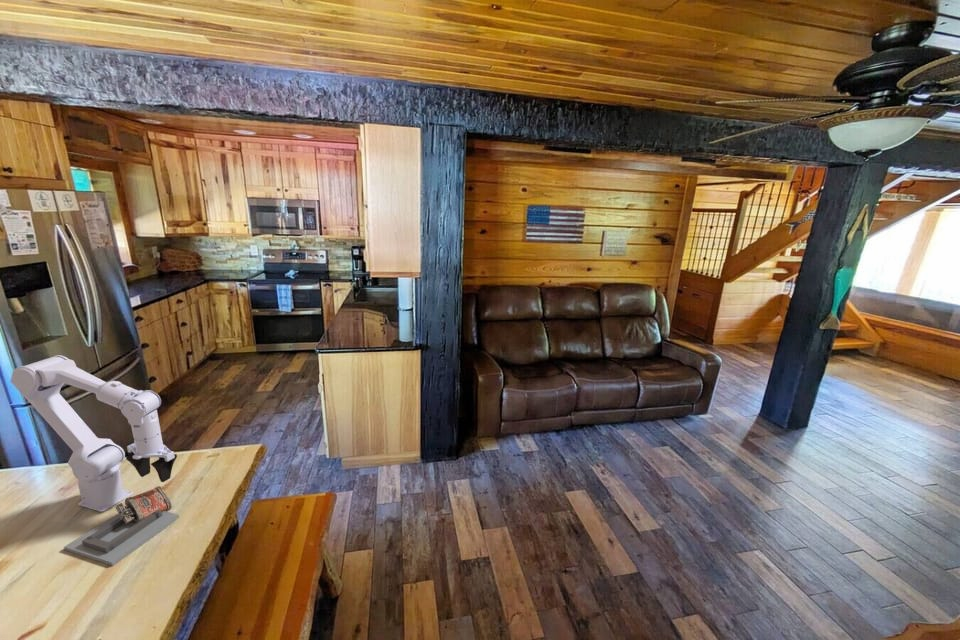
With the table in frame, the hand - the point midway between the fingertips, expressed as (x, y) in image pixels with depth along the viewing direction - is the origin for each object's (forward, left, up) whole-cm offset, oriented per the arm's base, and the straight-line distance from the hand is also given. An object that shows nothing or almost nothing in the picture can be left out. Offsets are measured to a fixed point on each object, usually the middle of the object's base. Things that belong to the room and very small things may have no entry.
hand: (155, 477), depth 109 cm
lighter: (+3, 0, -6) cm, 6 cm away
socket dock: (+3, -11, -8) cm, 14 cm away
